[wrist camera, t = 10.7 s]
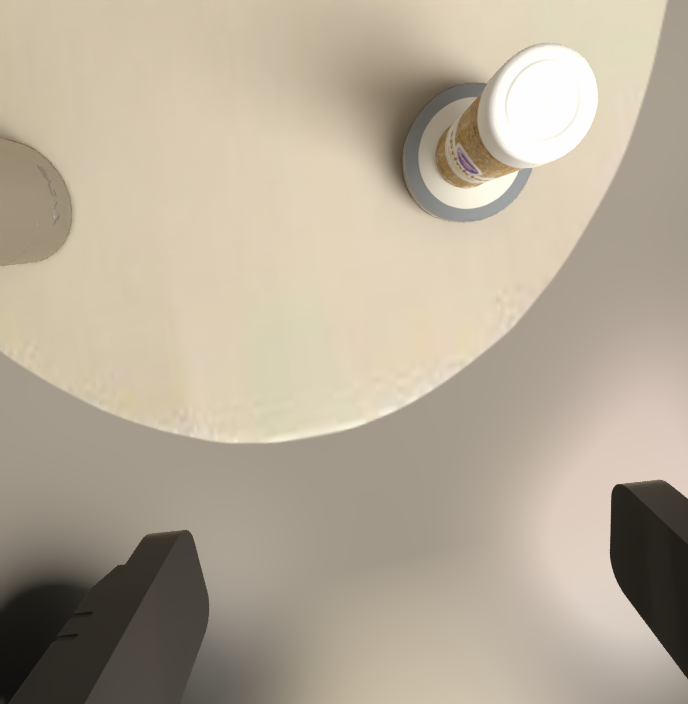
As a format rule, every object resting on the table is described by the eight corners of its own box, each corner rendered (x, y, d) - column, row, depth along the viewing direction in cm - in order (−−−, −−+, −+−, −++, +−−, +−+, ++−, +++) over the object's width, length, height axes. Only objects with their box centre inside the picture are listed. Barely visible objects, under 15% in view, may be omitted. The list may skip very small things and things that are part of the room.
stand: (406, 228, 35) (410, 229, 33) (396, 102, 33) (400, 91, 30) (523, 214, 35) (536, 213, 32) (521, 85, 32) (535, 73, 30)
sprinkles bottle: (421, 165, 32) (465, 121, 19) (460, 105, 31) (536, 13, 18) (474, 202, 32) (552, 184, 19) (514, 144, 31) (626, 83, 18)
